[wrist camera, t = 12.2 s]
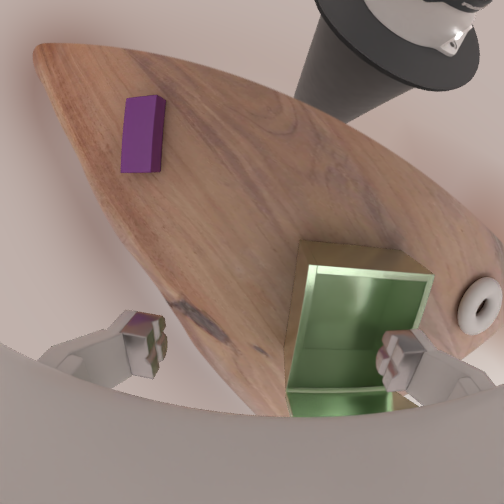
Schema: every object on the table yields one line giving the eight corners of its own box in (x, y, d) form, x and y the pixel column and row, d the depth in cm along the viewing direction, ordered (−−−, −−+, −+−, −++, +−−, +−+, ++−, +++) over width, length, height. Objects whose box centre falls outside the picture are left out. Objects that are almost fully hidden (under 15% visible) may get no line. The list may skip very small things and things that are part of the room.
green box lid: (309, 474, 12) (296, 518, 11) (473, 440, 12) (454, 484, 11) (285, 391, 28) (281, 425, 28) (393, 389, 28) (385, 421, 27)
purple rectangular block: (137, 102, 29) (126, 98, 26) (166, 100, 28) (156, 94, 26) (132, 172, 31) (120, 173, 28) (160, 171, 31) (150, 172, 28)
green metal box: (299, 239, 32) (308, 264, 24) (401, 249, 32) (435, 274, 23) (283, 348, 37) (285, 392, 29) (373, 350, 36) (391, 390, 28)
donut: (501, 278, 32) (469, 268, 32) (512, 286, 29) (482, 276, 28) (478, 330, 35) (444, 326, 35) (488, 340, 32) (455, 337, 31)
